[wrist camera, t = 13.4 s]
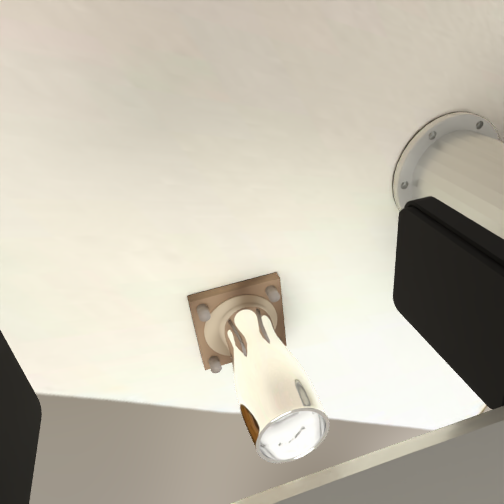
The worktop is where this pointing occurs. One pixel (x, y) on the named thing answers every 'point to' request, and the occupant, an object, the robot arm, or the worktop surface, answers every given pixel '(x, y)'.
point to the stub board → (223, 300)
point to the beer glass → (272, 387)
